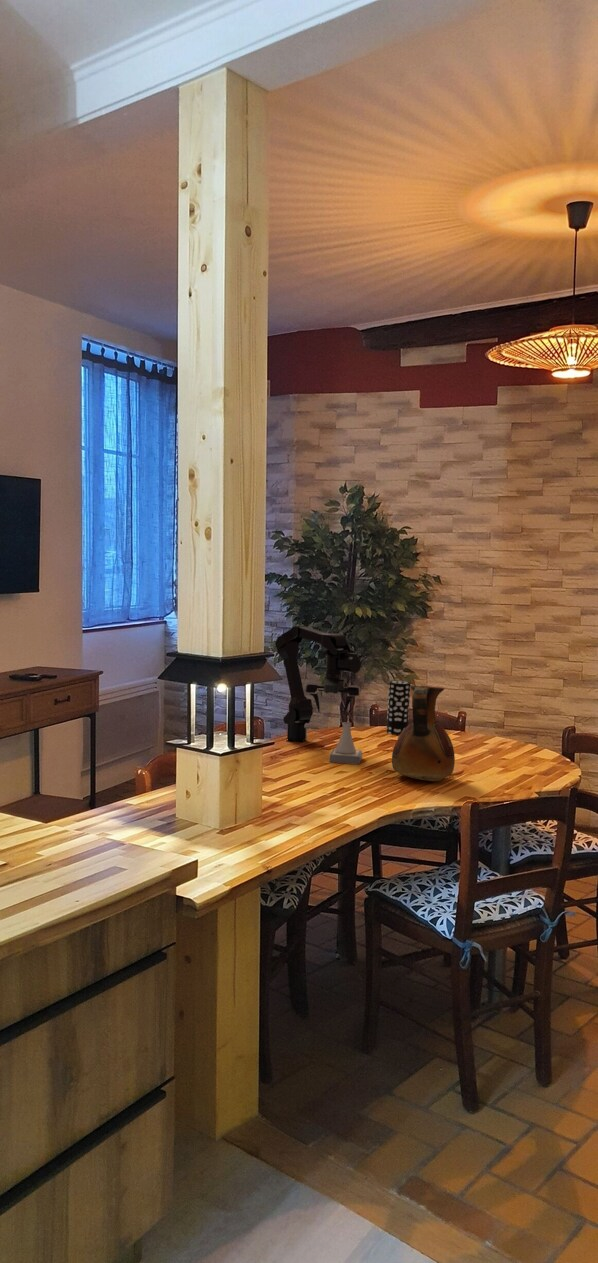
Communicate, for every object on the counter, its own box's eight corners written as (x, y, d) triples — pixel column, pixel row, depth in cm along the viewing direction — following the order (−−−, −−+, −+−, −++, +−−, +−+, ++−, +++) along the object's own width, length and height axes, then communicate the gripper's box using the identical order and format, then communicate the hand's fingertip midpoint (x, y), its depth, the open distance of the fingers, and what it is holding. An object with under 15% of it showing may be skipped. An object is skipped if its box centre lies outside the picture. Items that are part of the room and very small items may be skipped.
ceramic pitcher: (456, 774, 300) (462, 683, 297) (449, 790, 280) (455, 692, 278) (396, 768, 305) (401, 678, 302) (385, 782, 286) (391, 686, 283)
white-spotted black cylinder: (396, 729, 370) (399, 680, 368) (412, 733, 364) (414, 683, 362) (382, 731, 365) (384, 681, 363) (397, 735, 358) (400, 684, 357)
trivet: (329, 762, 309) (329, 754, 309) (332, 755, 319) (333, 747, 319) (359, 764, 308) (359, 756, 308) (361, 757, 318) (362, 750, 318)
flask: (351, 755, 309) (353, 726, 308) (331, 752, 312) (332, 723, 311) (359, 751, 315) (360, 722, 314) (339, 748, 318) (340, 720, 317)
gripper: (304, 670, 320) (302, 715, 321) (358, 674, 317) (356, 719, 318) (309, 666, 331) (307, 709, 332) (361, 670, 328) (359, 713, 329)
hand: (332, 713), depth 328 cm, fingers open, 9 cm apart
